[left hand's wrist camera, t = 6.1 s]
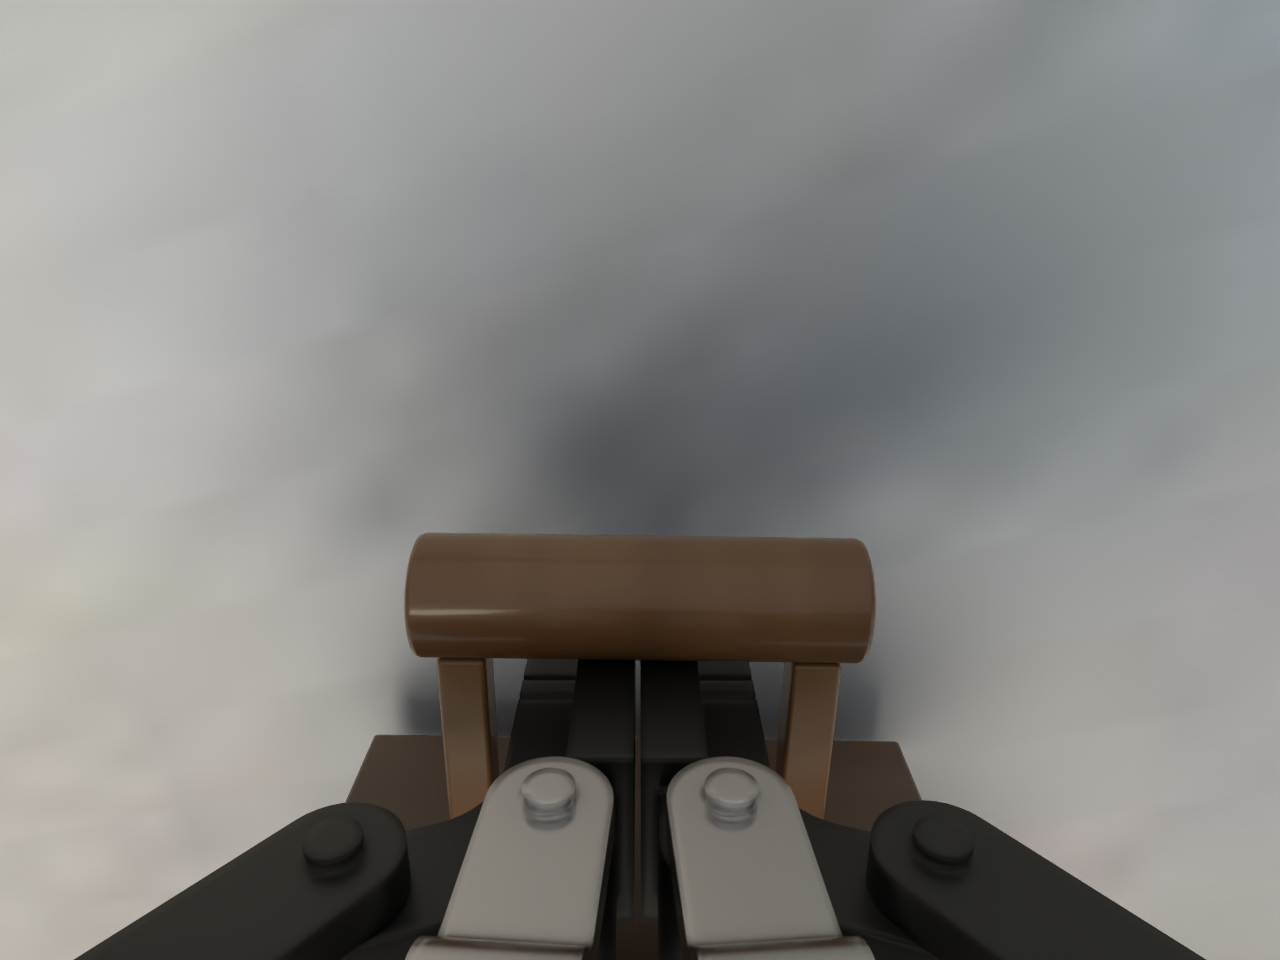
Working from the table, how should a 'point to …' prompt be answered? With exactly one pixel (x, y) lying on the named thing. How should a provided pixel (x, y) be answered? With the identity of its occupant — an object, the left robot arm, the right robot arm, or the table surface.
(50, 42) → the table surface
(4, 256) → the table surface
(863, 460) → the table surface
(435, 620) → the drawer
